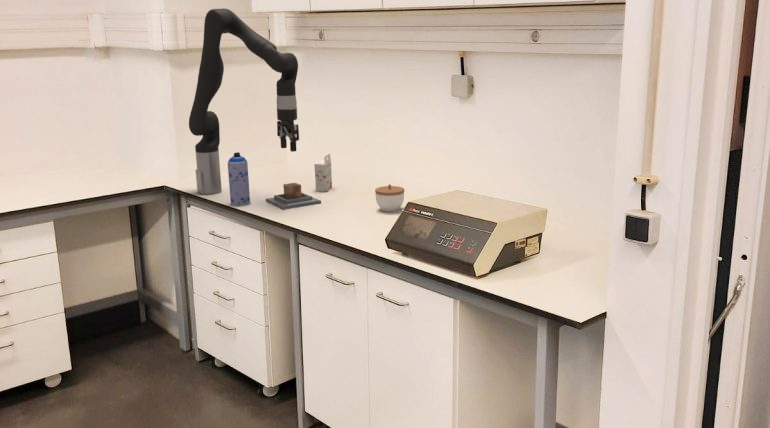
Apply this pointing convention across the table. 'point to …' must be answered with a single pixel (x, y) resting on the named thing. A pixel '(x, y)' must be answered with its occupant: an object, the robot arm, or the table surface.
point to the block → (292, 191)
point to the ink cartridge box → (323, 174)
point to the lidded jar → (389, 197)
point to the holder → (292, 201)
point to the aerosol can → (238, 180)
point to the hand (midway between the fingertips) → (288, 149)
